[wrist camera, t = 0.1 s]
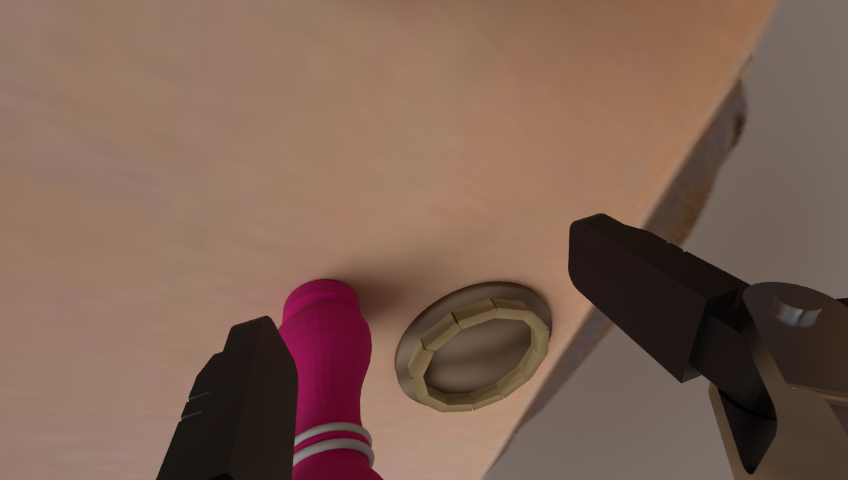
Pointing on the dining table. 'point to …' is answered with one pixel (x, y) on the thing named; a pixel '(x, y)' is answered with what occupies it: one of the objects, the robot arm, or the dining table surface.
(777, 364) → the robot arm
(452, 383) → the tray
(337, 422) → the pepper mill
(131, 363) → the dining table surface
